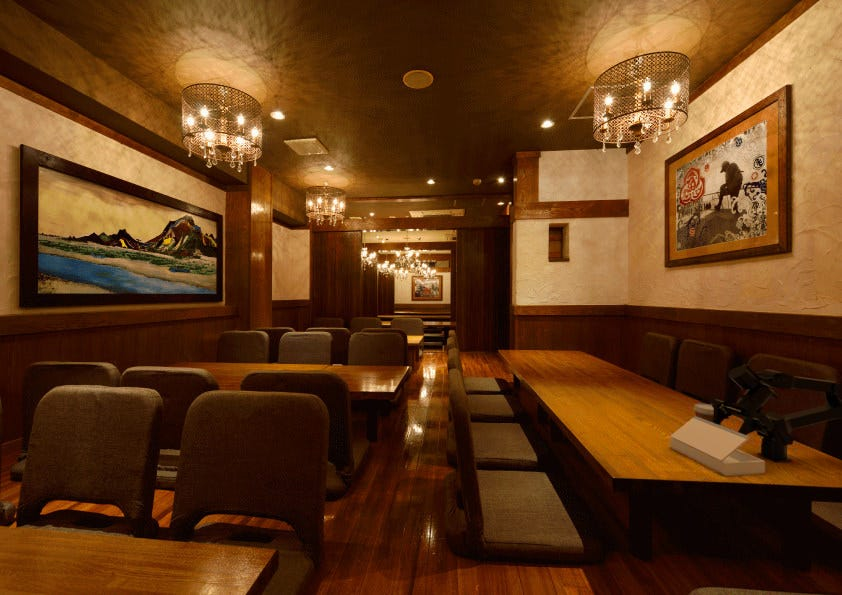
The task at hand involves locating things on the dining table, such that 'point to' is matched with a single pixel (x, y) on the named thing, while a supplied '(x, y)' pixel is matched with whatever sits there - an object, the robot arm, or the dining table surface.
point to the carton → (730, 466)
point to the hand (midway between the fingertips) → (724, 432)
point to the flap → (710, 438)
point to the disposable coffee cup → (704, 411)
